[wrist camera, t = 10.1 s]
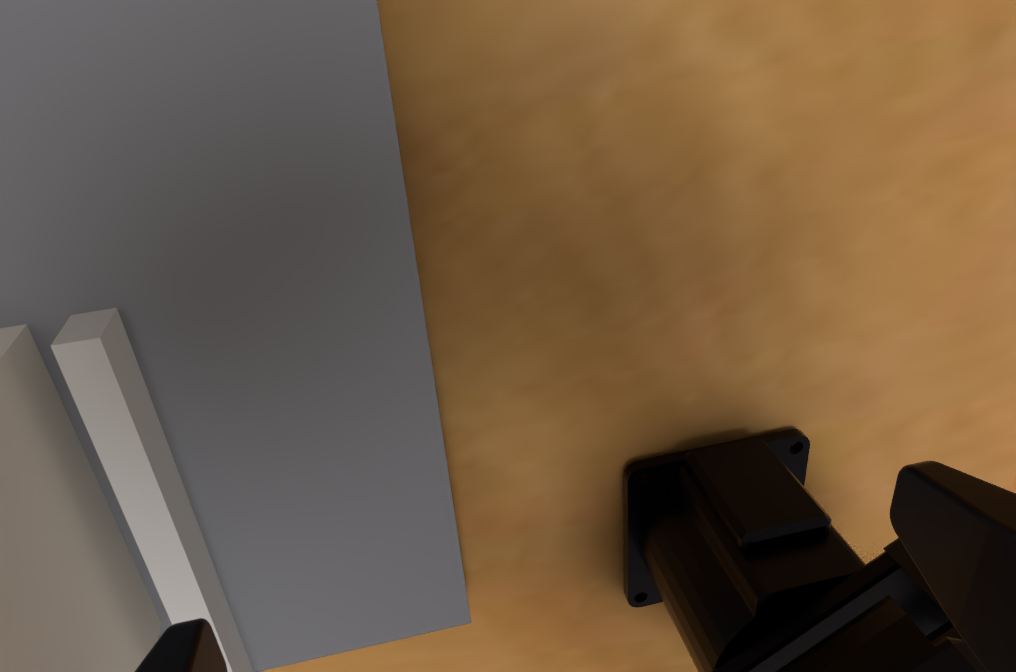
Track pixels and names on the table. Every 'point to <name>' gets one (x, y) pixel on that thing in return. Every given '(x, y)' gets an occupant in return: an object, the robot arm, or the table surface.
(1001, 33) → the table surface
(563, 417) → the table surface
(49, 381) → the carton
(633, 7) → the table surface
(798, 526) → the robot arm
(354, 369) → the shelf board
